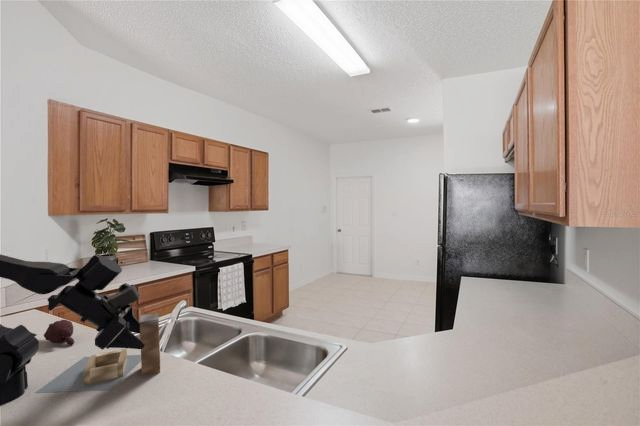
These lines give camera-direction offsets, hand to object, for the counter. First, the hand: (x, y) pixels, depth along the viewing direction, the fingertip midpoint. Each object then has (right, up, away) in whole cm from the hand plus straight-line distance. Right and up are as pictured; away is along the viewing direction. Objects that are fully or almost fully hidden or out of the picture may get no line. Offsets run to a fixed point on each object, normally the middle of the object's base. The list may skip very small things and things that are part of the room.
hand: (144, 339), depth 79 cm
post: (+1, -9, +1) cm, 9 cm away
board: (-12, -9, 0) cm, 15 cm away
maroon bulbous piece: (-38, -9, +20) cm, 44 cm away
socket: (-10, -8, 0) cm, 13 cm away
